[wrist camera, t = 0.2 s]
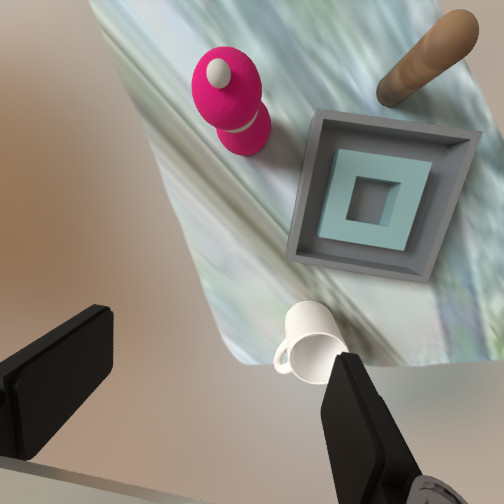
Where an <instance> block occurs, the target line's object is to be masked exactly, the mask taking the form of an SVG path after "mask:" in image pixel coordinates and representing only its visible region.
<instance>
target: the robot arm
mask: <svg viewBox="0 0 504 504" xmlns="http://www.w3.org/2000/svg"><path fill="white" fill-rule="evenodd" d="M113 316H114V315H113V312H112V311H111V310H110V308H109V307H107V306H102V305H96V304H94V305H92V306H90V307H88V308H87V309H85V310H84V311H82V312H80V313H79V314H77V315H76V316H74V317H73V318H71V319H69V320H68V321H66V322H65V323H63V324H61V325H60V326H58V327H56V328H55V329H53V330H52V331H50V332H49V333H47V334H45V335H44V336H42V337H41V338H39V339H37V340H36V341H34V342H32V343H31V344H29V345H28V346H26V347H24V348H23V349H21V350H20V351H18V352H16V353H15V354H13V355H12V356H10V357H8V358H7V359H5V360H4V361H2V362H0V504H214V503H210V502H206V501H202V500H197V499H193V498H188V497H184V496H180V495H175V494H171V493H166V492H162V491H158V490H153V489H149V488H145V487H140V486H136V485H131V484H126V483H122V482H118V481H113V480H109V479H105V478H100V477H96V476H91V475H86V474H82V473H77V472H73V471H68V470H64V469H59V468H55V467H50V466H46V465H41V464H36V463H32V462H27V461H26V460H30V459H32V458H33V457H34V456H36V455H37V453H38V452H39V451H40V450H41V449H42V448H43V447H44V446H45V445H46V443H47V442H48V441H49V440H50V439H51V438H52V437H53V436H54V435H55V433H56V432H57V431H58V430H59V429H60V428H61V427H62V426H63V425H64V424H65V422H66V421H67V420H68V419H69V418H70V417H71V416H72V415H73V414H74V412H75V411H76V410H77V409H78V408H79V407H80V406H81V405H82V404H83V402H84V401H85V400H86V399H87V398H88V397H89V396H90V395H91V394H92V392H93V391H94V390H95V389H96V388H97V387H98V386H99V385H100V384H101V383H102V381H103V380H104V379H105V378H106V377H107V376H108V375H109V373H110V372H111V370H112V367H113V320H114V317H113ZM321 420H322V425H323V430H324V435H325V440H326V444H327V450H328V454H329V459H330V464H331V469H332V473H333V478H334V483H335V489H336V493H337V498H338V503H339V504H468V503H467V502H466V501H465V500H464V499H463V498H462V496H460V495H459V494H458V493H457V492H456V491H455V490H454V489H453V488H451V487H450V486H449V485H447V484H445V483H444V482H442V481H441V480H439V479H436V478H434V477H431V476H426V475H422V473H421V471H420V469H419V467H418V465H417V463H416V461H415V459H414V457H413V455H412V453H411V451H410V450H409V448H408V446H407V444H406V442H405V440H404V438H403V436H402V434H401V433H400V430H399V429H398V427H397V425H396V423H395V421H394V419H393V417H392V415H391V413H390V411H389V409H388V408H387V406H386V404H385V402H384V400H383V399H382V397H381V396H380V395H378V392H377V391H376V389H375V387H374V385H373V383H372V381H371V379H370V377H369V375H368V373H367V371H366V369H365V367H364V365H363V363H362V361H361V359H360V357H359V356H358V355H357V354H353V353H348V352H342V353H341V354H340V355H338V354H337V355H336V357H335V361H334V364H333V368H332V371H331V375H330V378H329V381H328V385H327V389H326V392H325V396H324V399H323V402H322V406H321Z"/></svg>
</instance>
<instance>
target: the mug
mask: <svg viewBox="0 0 504 504" xmlns="http://www.w3.org/2000/svg"><path fill="white" fill-rule="evenodd" d="M285 328H286V339H285V340H284V341H283V342H282V343H281V344H280V346H279V347H278V349H277V351H276V354H275V357H274V367H275V369H276V371H277V372H278V373H280V374H290V373H292V372H293V373H294V374H295V375H296V376H297V377H298V378H299V379H301V380H303V381H305V382H307V383H310V384H317V385H318V384H320V385H321V384H328V381H329V378H330V375H331V371H332V368H333V364H334V361H335V357H336V355H337V354H338V355H340V354H341V353H342V352H348V353H349V350H348V348H347V346H346V344H345V341H344V339H343V337H342V335H341V333H340V331H339V329H338V326H337V324H336V322H335V320H334V318H333V316H332V314H331V312H330V311H329V309H328V308H327V307H326V306H324V305H323V304H321V303H319V302H316V301H302V302H299V303H297V304H295V305H294V306H293V307H292V308H291V309H290V310H289V311H288V313H287V316H286V320H285ZM286 350H287V353H288V362H287V363H285V364H282V358H283V355H284V353H285V352H286Z"/></svg>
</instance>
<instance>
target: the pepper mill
mask: <svg viewBox="0 0 504 504" xmlns="http://www.w3.org/2000/svg"><path fill="white" fill-rule="evenodd" d="M192 96H193V99H194V103H195V105H196V107H197V109H198V111H199V113H200V114H201V116H202V117H203V118H204V119H205V120H206V121H207V122H208V123H209V124H211V125H212V126H214V127H216V130H217V134H218V137H219V139H220V141H221V142H222V144H223V145H224V146H225V148H227V149H228V150H229V151H231V152H232V153H234V154H237V155H245V156H248V155H253V154H256V153H257V152H259V151H260V150H261V149H262V148H263V147H264V145H265V143H266V142H267V140H268V138H269V135H270V131H271V120H270V115H269V113H268V110H267V108H266V106H265V105H264V103H263V102H262V101H261V97H262V84H261V80H260V76H259V73H258V71H257V69H256V66H255V65H254V63H253V62H252V60H251V59H250V58H249V57H248V56H247V55H246V54H245V53H243V52H241V51H240V50H238V49H235V48H233V47H217V48H214V49H212V50H210V51H208V52H207V53H206V54H205V55H204V56H203V57H202V58H201V59H200V61H199V62H198V64H197V66H196V68H195V70H194V73H193V77H192Z"/></svg>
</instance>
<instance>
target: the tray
mask: <svg viewBox="0 0 504 504" xmlns="http://www.w3.org/2000/svg"><path fill="white" fill-rule="evenodd" d="M481 135H482V131H475V130H468V129H461V128H453V127H446V126H439V125H432V124H424V123H417V122H410V121H403V120H395V119H388V118H381V117H374V116H366V115H359V114H352V113H345V112H337V111H330V110H323V109H317V110H316V112H315V114H314V116H313V118H312V120H311V125H310V130H309V135H308V140H307V145H306V150H305V155H304V161H303V166H302V171H301V176H300V181H299V186H298V192H297V197H296V202H295V207H294V212H293V217H292V223H291V228H290V233H289V238H288V243H287V248H286V256H287V260H288V261H294V262H300V263H305V264H311V265H317V266H323V267H329V268H335V269H341V270H347V271H352V272H358V273H364V274H370V275H376V276H382V277H388V278H394V279H399V280H405V281H411V282H417V283H423V284H427V283H428V281H429V278H430V275H431V272H432V270H433V267H434V264H435V261H436V259H437V256H438V253H439V250H440V248H441V245H442V242H443V239H444V237H445V234H446V231H447V228H448V226H449V223H450V220H451V217H452V215H453V212H454V209H455V206H456V204H457V201H458V198H459V195H460V193H461V190H462V187H463V184H464V182H465V179H466V176H467V173H468V171H469V168H470V165H471V162H472V160H473V157H474V154H475V151H476V149H477V146H478V143H479V140H480V138H481Z"/></svg>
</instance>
